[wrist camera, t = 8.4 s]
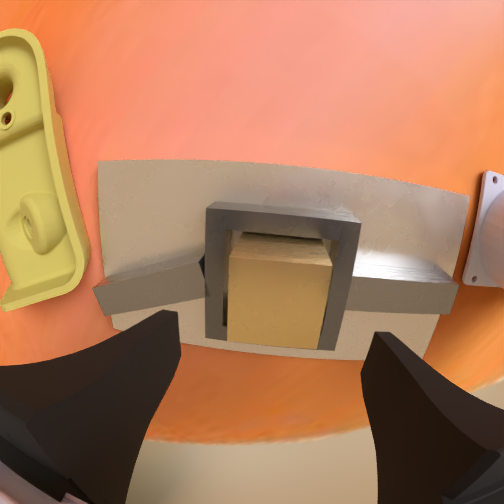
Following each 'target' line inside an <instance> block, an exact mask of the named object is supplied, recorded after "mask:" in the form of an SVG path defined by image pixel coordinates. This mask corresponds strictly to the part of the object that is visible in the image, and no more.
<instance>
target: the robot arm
mask: <svg viewBox="0 0 504 504" xmlns="http://www.w3.org/2000/svg"><path fill="white" fill-rule="evenodd" d="M493 177H494V182H493ZM473 277H474V279H473V280H472V278H473ZM462 281H463V283H464V284H465V285H472V286H486V287H502V288H503V289H504V176H503V175H501V174H498V173H495V172H492V171H488V170H486V171H485V172H484V173H483V177H482V185H481V193H480V200H479V206H478V212H477V217H476V222H475V228H474V232H473V237H472V241H471V246H470V250H469V254H468V258H467V262H466V265H465V269H464V272H463V276H462ZM180 357H181V347H180V335H179V321H178V312H176V311H170V310H164V309H162V310H160V311H158V312H156V313H154V314H153V315H151V316H149V317H147V318H146V319H144V320H142V321H141V322H139V323H137V324H135V325H133V326H132V327H130V328H128V329H126V330H125V331H123V332H121V333H119V334H117V335H115V336H113V337H111V338H109V339H107V340H105V341H103V342H101V343H99V344H96V345H94V346H92V347H89V348H87V349H84V350H81V351H79V352H76V353H73V354H69V355H66V356H62V357H59V358H55V359H51V360H47V361H42V362H37V363H30V364H23V365H11V366H0V504H125V501H126V497H127V492H128V488H129V484H130V480H131V477H132V473H133V469H134V466H135V463H136V460H137V457H138V454H139V450H140V448H141V445H142V442H143V439H144V436H145V434H146V431H147V428H148V426H149V424H150V422H151V419H152V418H153V416H154V414H155V412H156V410H157V408H158V406H159V404H160V402H161V400H162V398H163V397H164V395H165V393H166V391H167V389H168V387H169V385H170V383H171V381H172V379H173V377H174V374H175V372H176V369H177V366H178V363H179V360H180ZM361 383H362V391H363V398H364V402H365V406H366V410H367V414H368V418H369V422H370V426H371V430H372V434H373V439H374V444H375V449H376V458H377V474H378V504H504V410H503V409H500V408H498V407H495V406H493V405H491V404H488V403H486V402H484V401H482V400H480V399H478V398H477V397H475V396H473V395H471V394H469V393H468V392H466V391H464V390H463V389H461V388H460V387H458V386H456V385H455V384H453V383H452V382H450V381H449V380H448V379H446V378H445V377H444V376H442V375H441V374H440V373H438V372H437V371H436V370H434V369H433V368H432V367H431V366H430V365H428V364H427V363H426V362H425V361H424V360H422V359H421V358H420V357H419V356H418V355H417V354H416V353H414V352H413V351H412V350H411V349H410V348H409V347H408V346H406V345H405V344H404V343H403V342H402V341H401V340H399V339H398V338H397V337H396V336H395V335H393V334H392V333H391V332H380V331H375V332H374V335H373V338H372V342H371V345H370V348H369V351H368V353H367V356H366V359H365V362H364V365H363V368H362V370H361Z"/></svg>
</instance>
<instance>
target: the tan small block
mask: <svg viewBox="0 0 504 504" xmlns="http://www.w3.org/2000/svg"><path fill="white" fill-rule="evenodd" d="M332 267H333V266H332V263H331V261H330V258H329V256H328V253H327V251H326V248H325V246H324V244H323V241H322V239H318V238H308V237H298V236H288V235H277V234H267V233H256V232H245V231H243V232H242V234H241V236H240V237H239V239H238V241H237V243H236V245H235V247H234V249H233V250H232V252H231V254H230V256H229V279H228V322H227V341H231V342H240V343H248V344H258V345H268V346H279V347H291V348H306V349H317V346H318V341H319V336H320V332H321V327H322V322H323V317H324V312H325V306H326V301H327V296H328V290H329V284H330V279H331V273H332Z"/></svg>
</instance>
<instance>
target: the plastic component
mask: <svg viewBox="0 0 504 504" xmlns="http://www.w3.org/2000/svg"><path fill="white" fill-rule="evenodd" d="M12 91H13V93H12V96H11V98H10V100H9V102H8V103H7V104H6V101H7V99H8V97H9V95H10V93H11V92H12ZM5 120H10V123H9V124H7V125H6V124H5ZM0 253H1V256H2V259H3V262H4V264H5V267H6V269H7V272H8V275H9V277H10V280H11V282H12V283H11V285H10V286H9V288H8V289H7V291H6V292H5V294H4V295H3V297H2V299H1V300H0V306H1V308H2V310H3V311H6V312H7V311H10V310H14V309H17V308H20V307H23V306H27V305H30V304H33V303H36V302H40V301H43V300H46V299H50V298H53V297H56V296H60V295H63V294H66V293H68V292H70V291H71V290H73V289H74V288H75V287H76V286H77V285H78V284H79V282H80V280H81V278H82V276H83V274H84V272H85V269H86V267H87V265H88V263H89V260H90V256H91V245H90V240H89V237H88V233H87V230H86V227H85V223H84V220H83V216H82V213H81V209H80V206H79V202H78V198H77V194H76V190H75V186H74V181H73V177H72V173H71V168H70V163H69V158H68V153H67V148H66V142H65V136H64V130H63V123H62V118H61V117H60V115H59V114H58V113H57V111H56V107H55V98H54V91H53V85H52V79H51V76H50V72H49V68H48V66H47V62H46V58H45V55H44V52H43V50H42V47H41V45H40V43H39V41H38V39H37V38H36V37H35V36H34V35H33V34H32V33H30V32H29V31H26V30H23V29H8V30H4V31H1V32H0Z"/></svg>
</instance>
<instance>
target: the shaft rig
mask: <svg viewBox="0 0 504 504" xmlns="http://www.w3.org/2000/svg"><path fill="white" fill-rule="evenodd" d="M469 199H470V196H468V195H465V194H461V193H457V192H453V191H449V190H445V189H440V188H436V187H431V186H427V185H422V184H417V183H412V182H407V181H402V180H396V179H391V178H385V177H379V176H373V175H367V174H360V173H354V172H347V171H339V170H332V169H324V168H316V167H307V166H297V165H287V164H276V163H263V162H249V161H231V160H207V159H127V160H105V161H98V206H99V223H100V237H101V248H102V257H103V266H104V274H105V279H103V280H102V281H101V282H100V283H98V284H97V285H96V286H95V287H93V288H92V289H93V291H94V294H95V296H96V298H97V300H98V302H99V304H100V306H101V308H102V311H103V313H104V315H105V316H108V315H111V318H112V323H113V328H114V329H118V330H122V331H125V330H126V329H128V328H130V327H132V326H133V325H135V324H137V323H139V322H141V321H142V320H144V319H146V318H147V317H149V316H151V315H153V314H154V313H156V312H158V311H160V310H162V309H164V310H170V311H176V312H178V321H179V335H180V342H181V343H186V344H192V345H198V346H205V347H211V348H218V349H225V350H233V351H240V352H249V353H257V354H267V355H277V356H288V357H301V358H317V359H337V360H365V359H366V356H367V353H368V351H369V348H370V345H371V342H372V338H373V335H374V332H375V331H380V332H391V333H392V334H393V335H395V336H396V337H397V338H398V339H399V340H401V341H402V342H403V343H404V344H405V345H406V346H408V347H409V348H410V349H411V350H412V351H413V352H414V353H416V354H417V355H418V356H419V357H420V358H421V359H423V356H424V354H425V352H426V349H427V347H428V345H429V342H430V340H431V337H432V335H433V332H434V330H435V327H436V324H437V322H438V319H439V316H440V314H441V315H450V312H451V309H452V306H453V304H454V301H455V298H456V295H457V292H458V288H459V285H460V284H459V283H458V282H456V281H455V280H454V279H453V278H452V276H453V273H454V269H455V266H456V262H457V258H458V254H459V250H460V246H461V241H462V237H463V232H464V227H465V222H466V217H467V211H468V206H469ZM243 231H245V232H256V233H267V234H277V235H288V236H298V237H308V238H318V239H322V241H323V244H324V246H325V248H326V251H327V253H328V256H329V258H330V261H331V263H332V266H333V267H332V273H331V279H330V284H329V290H328V296H327V301H326V306H325V312H324V317H323V322H322V327H321V332H320V336H319V341H318V346H317V349H306V348H291V347H279V346H268V345H258V344H248V343H240V342H231V341H227V322H228V279H229V256H230V254H231V252H232V250H233V249H234V247H235V245H236V243H237V241H238V239H239V237H240V236H241V234H242V232H243Z"/></svg>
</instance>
